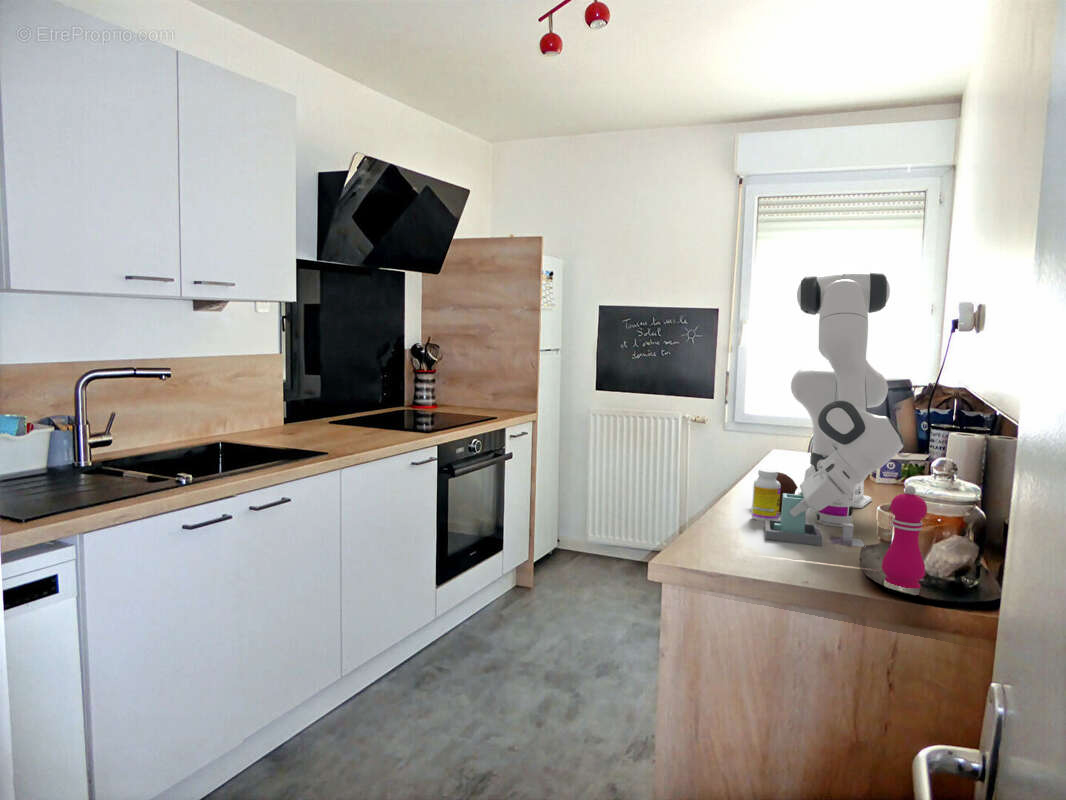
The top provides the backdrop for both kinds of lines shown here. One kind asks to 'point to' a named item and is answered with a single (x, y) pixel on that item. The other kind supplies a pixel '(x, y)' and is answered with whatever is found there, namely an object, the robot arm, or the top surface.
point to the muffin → (785, 486)
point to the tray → (793, 534)
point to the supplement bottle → (766, 496)
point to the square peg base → (847, 537)
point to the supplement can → (837, 512)
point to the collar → (789, 521)
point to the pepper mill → (905, 541)
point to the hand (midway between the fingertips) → (790, 510)
